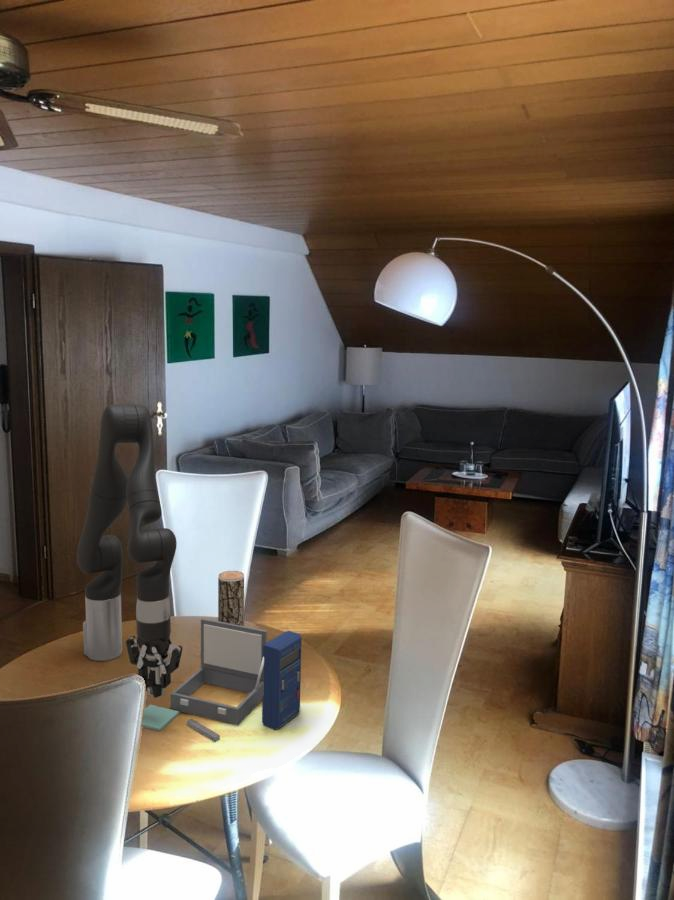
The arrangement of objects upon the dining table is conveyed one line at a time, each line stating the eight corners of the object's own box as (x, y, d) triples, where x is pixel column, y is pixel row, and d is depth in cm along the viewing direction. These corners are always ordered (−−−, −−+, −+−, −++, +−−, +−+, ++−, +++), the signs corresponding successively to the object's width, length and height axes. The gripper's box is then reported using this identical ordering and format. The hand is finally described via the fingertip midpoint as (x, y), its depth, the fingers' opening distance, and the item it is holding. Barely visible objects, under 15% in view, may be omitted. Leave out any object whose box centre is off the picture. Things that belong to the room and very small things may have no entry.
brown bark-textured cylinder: (238, 670, 199) (239, 580, 194) (214, 667, 200) (214, 578, 195) (246, 658, 205) (247, 572, 200) (223, 655, 206) (223, 569, 202)
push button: (134, 690, 174) (133, 650, 172) (153, 682, 177) (153, 643, 176) (151, 701, 169) (151, 660, 167) (170, 692, 173) (170, 652, 171)
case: (169, 710, 178) (168, 643, 175) (203, 679, 193) (203, 617, 190) (239, 727, 172) (240, 658, 169) (269, 694, 187) (270, 630, 184)
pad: (130, 723, 172) (130, 721, 172) (150, 706, 179) (150, 704, 179) (160, 731, 169) (160, 728, 169) (179, 713, 177) (179, 711, 177)
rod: (186, 726, 172) (186, 720, 172) (191, 724, 173) (191, 718, 173) (214, 743, 166) (214, 737, 166) (219, 740, 167) (219, 735, 167)
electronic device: (278, 731, 171) (279, 649, 167) (260, 724, 173) (261, 643, 170) (301, 713, 179) (303, 634, 175) (284, 706, 181) (285, 629, 177)
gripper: (116, 616, 169) (118, 685, 172) (171, 626, 164) (172, 698, 167) (136, 604, 175) (137, 671, 179) (189, 614, 171) (190, 683, 174)
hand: (154, 684), depth 173 cm, fingers closed on push button, 5 cm apart
